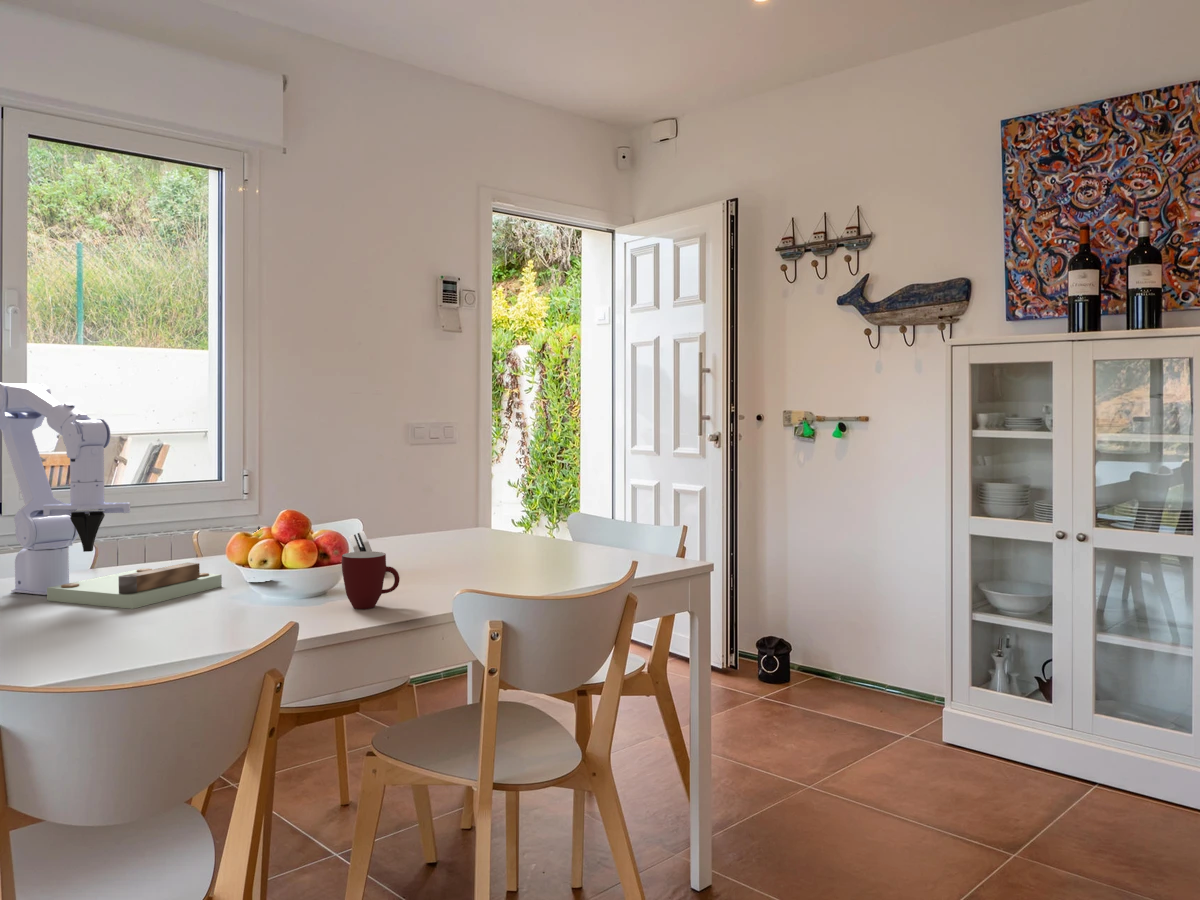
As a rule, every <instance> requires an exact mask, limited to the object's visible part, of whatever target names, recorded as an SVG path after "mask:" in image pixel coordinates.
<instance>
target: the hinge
mask: <svg viewBox="0 0 1200 900" xmlns="http://www.w3.org/2000/svg"><path fill="white" fill-rule="evenodd" d="M348 539H349V540H350V543H351V546H352V549H353V552H363V551H373V550H372V547H371V544H370V542H369V540H368V537H367V535H366V533H365V531H364V530H361V531H358V532H357V535H356V534H354V533H352V534H351V535H349V536H348ZM386 574H387V572H386V573H385V575H386Z"/></svg>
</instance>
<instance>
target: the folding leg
mask: <svg viewBox="0 0 1200 900" xmlns="http://www.w3.org/2000/svg"><path fill="white" fill-rule="evenodd" d="M152 569H153V570H148V571H143V572H138V573H133V574H128V575H122V576H119V593H121V594H128V593H135V592H139V591H144V590H148V589H153V588H157V587H161V586H166V585H170V584H175V583H179V582H184V581H188V580H193V579H197V578H200V573H201V572H200V563H199V562H183V563H178V564H174V565H168V566H164V567H159V568H152Z"/></svg>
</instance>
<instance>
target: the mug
mask: <svg viewBox="0 0 1200 900" xmlns="http://www.w3.org/2000/svg"><path fill="white" fill-rule="evenodd" d="M341 572H342V573H341V574H342V578H343V582H344V583H343V585H344V589H345V594H346V596H347V597H346V598H347V599H348V601H349V603H350V605H351V607H352V608H354V609H356V610H367V609H369V610H370V609H373V608H375V606H376V604H377V603H378V601H379V600H380V597H382V594H384V595H385V594H387V593H392V592H394V591H395V590H397V588H398V587H399V584H400V578H401V577H400V575H399V572H398V570H397V569H395V568H394V567H393V566H387V555H386V553H385V552H382V551H373V550H372V551H363V552H354V551H352V552H347V553H343V554H342V555H341ZM385 573H386V574H387V573H390V574H392V576H393V581H394V582H393V585H392V586H391V587H389V588H384V589H383V587H384V581H385V576H386V574H385Z"/></svg>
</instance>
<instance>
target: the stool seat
mask: <svg viewBox="0 0 1200 900" xmlns="http://www.w3.org/2000/svg"><path fill="white" fill-rule="evenodd" d="M153 569H154V568H143V567H142V568H139V569H133V570H128V571H123V572H117V573H113V574H109V575H103V576H99V577H92V578H87V579H83V580H78V581H73V582H69V583H68V584H63V585H58V586H53V587H48V588H47V595H46V601H48V602H56V603H57V602H58V603H69V604H70V603H71V604H79V605H88V606H89V605H90V606H99V607H111V608H120V609H129V610H130V609H131V610H134V609H137V608H141V607H145V606H149V605H153V604H157V603H162V602H165V601H168V600H173V599H178V598H181V597H184V596H188V595H193V594H197V593H201V592H204V591H208V590H213V589H217V588H220V587H222V584H223V583H222V581H223V580H222V579H223V578H222V576H223V575H222V574H220V573H219V574H217V573H209V572H200V578H197V579H193V580H188V581H184V582H179V583H175V584H170V585H166V586H161V587H157V588H153V589H148V590H144V591H139V592H135V593H128V594H121V593H119V576H122V575H128V574H133V573H138V572H143V571H148V570H153Z"/></svg>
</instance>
